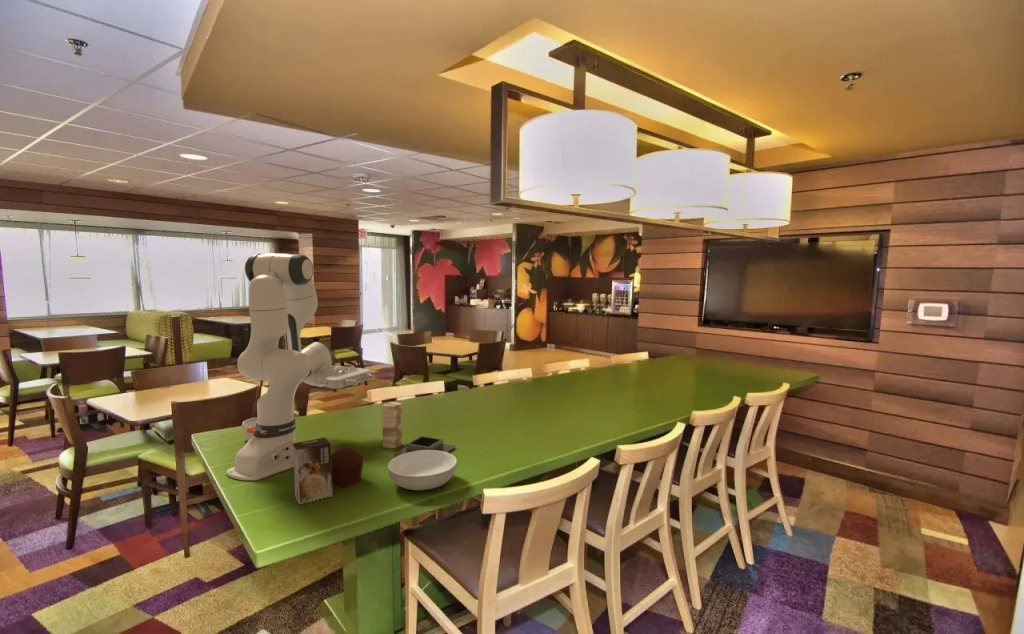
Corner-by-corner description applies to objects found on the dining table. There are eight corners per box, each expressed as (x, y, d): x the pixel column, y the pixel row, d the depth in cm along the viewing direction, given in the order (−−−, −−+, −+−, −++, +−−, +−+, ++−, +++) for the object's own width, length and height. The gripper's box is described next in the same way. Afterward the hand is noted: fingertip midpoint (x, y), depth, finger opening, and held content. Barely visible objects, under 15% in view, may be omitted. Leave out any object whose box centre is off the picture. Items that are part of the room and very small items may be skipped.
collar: (432, 463, 157) (432, 452, 157) (393, 456, 163) (393, 445, 163) (455, 448, 172) (455, 437, 172) (418, 442, 178) (418, 432, 178)
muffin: (365, 486, 140) (365, 454, 139) (326, 491, 136) (325, 459, 135) (362, 470, 151) (362, 441, 150) (326, 476, 147) (325, 445, 146)
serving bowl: (426, 464, 157) (426, 444, 157) (470, 481, 144) (470, 460, 143) (374, 484, 141) (373, 463, 141) (418, 506, 128) (418, 482, 127)
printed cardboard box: (327, 488, 138) (326, 436, 137) (333, 497, 133) (332, 442, 132) (294, 496, 133) (292, 442, 131) (298, 505, 127) (297, 449, 126)
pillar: (394, 448, 171) (393, 406, 170) (382, 446, 173) (382, 405, 171) (401, 444, 176) (401, 403, 174) (391, 442, 177) (390, 401, 176)
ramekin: (287, 436, 183) (287, 419, 183) (255, 446, 172) (254, 428, 171) (268, 430, 190) (267, 414, 189) (235, 439, 179) (234, 422, 178)
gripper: (316, 374, 172) (346, 377, 167) (354, 364, 191) (381, 367, 186) (317, 390, 172) (346, 394, 167) (354, 379, 191) (382, 383, 186)
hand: (365, 380), depth 177 cm, fingers open, 8 cm apart
